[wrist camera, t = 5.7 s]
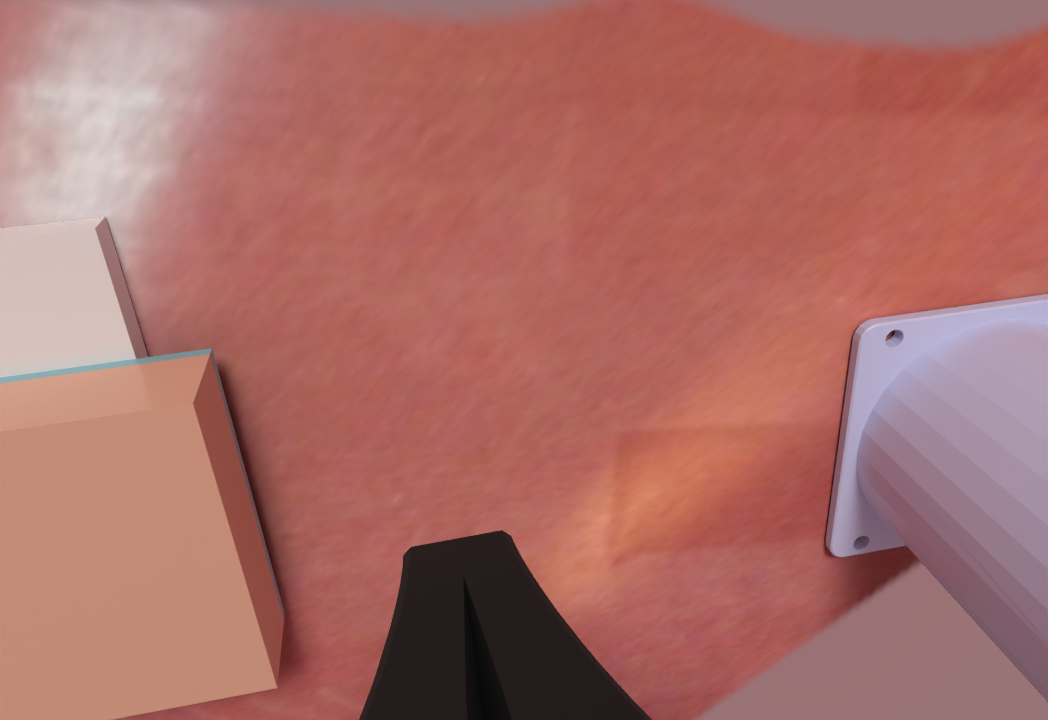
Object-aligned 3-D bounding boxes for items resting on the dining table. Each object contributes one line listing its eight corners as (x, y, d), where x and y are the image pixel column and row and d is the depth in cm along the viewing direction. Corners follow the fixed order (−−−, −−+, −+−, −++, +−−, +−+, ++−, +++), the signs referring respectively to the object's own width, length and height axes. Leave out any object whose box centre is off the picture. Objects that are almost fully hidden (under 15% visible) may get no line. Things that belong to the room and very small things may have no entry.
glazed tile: (193, 403, 16) (-195, 460, 16) (277, 687, 20) (-33, 747, 19) (211, 348, 19) (-127, 395, 18) (284, 613, 22) (7, 663, 21)
